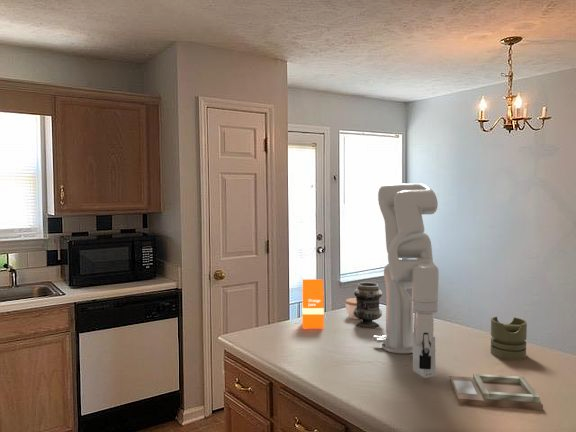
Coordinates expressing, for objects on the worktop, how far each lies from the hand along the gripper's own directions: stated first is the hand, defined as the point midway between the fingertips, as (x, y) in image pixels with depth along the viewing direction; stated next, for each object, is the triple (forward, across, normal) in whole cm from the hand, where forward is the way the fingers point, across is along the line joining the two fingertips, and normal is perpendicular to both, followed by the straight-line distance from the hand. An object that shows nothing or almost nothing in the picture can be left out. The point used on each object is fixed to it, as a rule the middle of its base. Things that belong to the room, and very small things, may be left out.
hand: (423, 363), depth 144 cm
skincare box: (+3, 0, 0) cm, 3 cm away
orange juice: (+7, -53, -41) cm, 67 cm away
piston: (+6, -29, +31) cm, 43 cm away
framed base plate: (+5, +7, +18) cm, 20 cm away
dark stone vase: (+7, -57, -18) cm, 60 cm away
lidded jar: (+8, -70, -23) cm, 74 cm away
